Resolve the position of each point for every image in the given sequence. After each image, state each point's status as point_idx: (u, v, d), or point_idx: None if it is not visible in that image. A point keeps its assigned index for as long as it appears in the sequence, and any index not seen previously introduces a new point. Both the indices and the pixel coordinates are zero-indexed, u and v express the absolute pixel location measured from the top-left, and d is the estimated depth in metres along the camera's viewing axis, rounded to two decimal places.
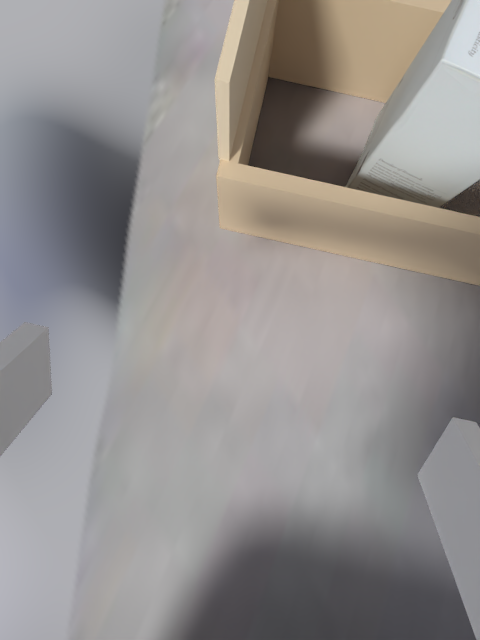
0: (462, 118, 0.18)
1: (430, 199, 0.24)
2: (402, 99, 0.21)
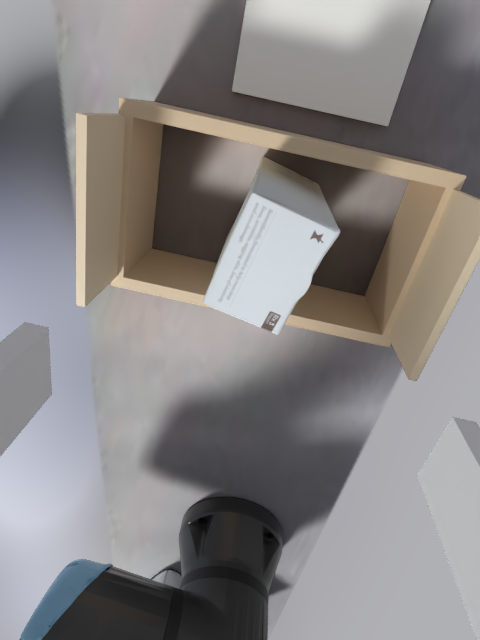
0: None
1: None
2: (223, 249, 0.29)
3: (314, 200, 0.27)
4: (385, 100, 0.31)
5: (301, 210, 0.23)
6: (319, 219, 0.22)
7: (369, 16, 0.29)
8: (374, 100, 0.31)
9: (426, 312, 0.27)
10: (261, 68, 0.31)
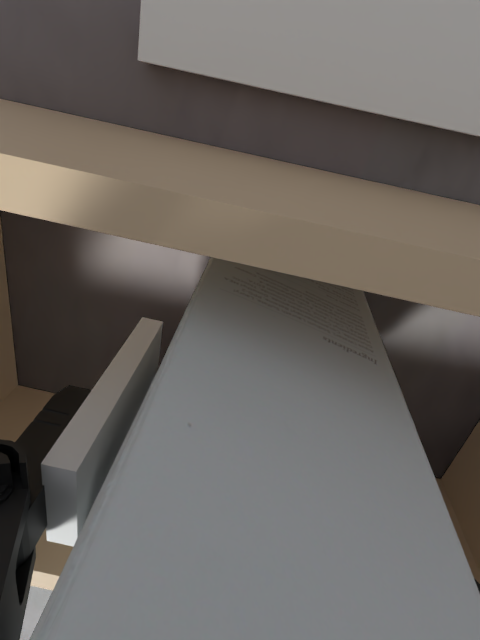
0: None
1: None
2: None
3: (379, 453, 0.07)
4: None
5: None
6: None
7: None
8: None
9: None
10: None
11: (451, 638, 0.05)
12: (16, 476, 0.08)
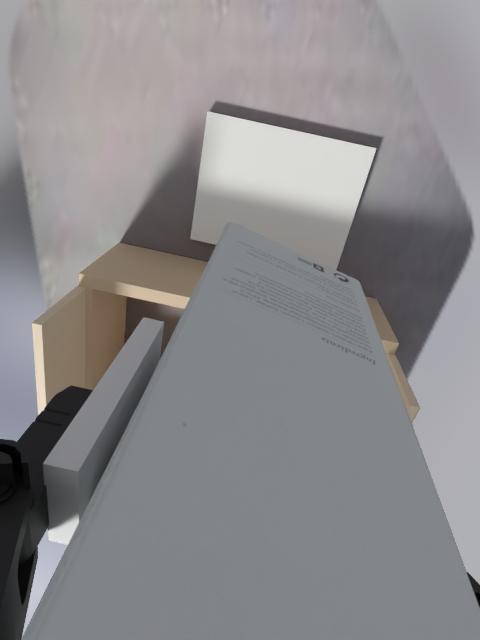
0: None
1: None
2: None
3: (375, 453, 0.07)
4: (332, 250, 0.33)
5: None
6: None
7: (313, 183, 0.31)
8: (322, 250, 0.33)
9: None
10: (216, 222, 0.33)
11: (443, 637, 0.05)
12: (18, 476, 0.08)
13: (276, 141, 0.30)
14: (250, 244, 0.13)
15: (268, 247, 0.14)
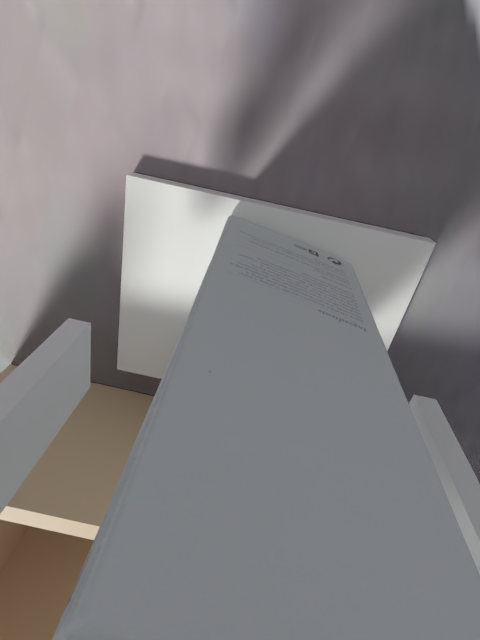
0: None
1: None
2: None
3: (366, 396, 0.09)
4: None
5: None
6: None
7: None
8: None
9: None
10: (157, 347, 0.20)
11: (418, 516, 0.06)
12: None
13: None
14: (251, 233, 0.15)
15: (267, 236, 0.15)
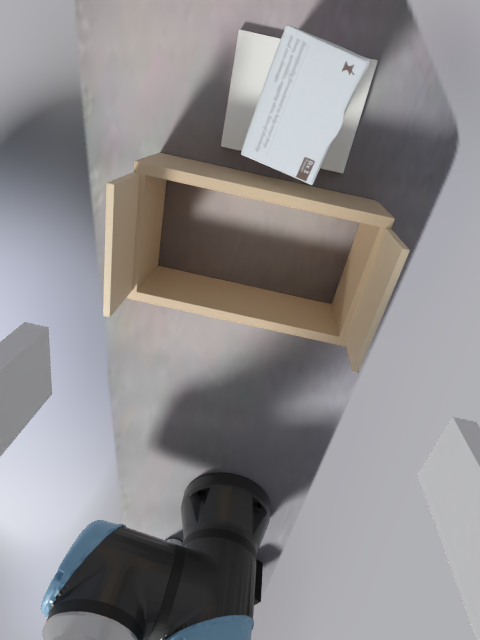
0: None
1: None
2: None
3: None
4: (339, 154, 0.40)
5: (333, 43, 0.24)
6: None
7: None
8: (331, 154, 0.40)
9: (365, 320, 0.36)
10: (243, 130, 0.40)
11: None
12: None
13: None
14: None
15: None
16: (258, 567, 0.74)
